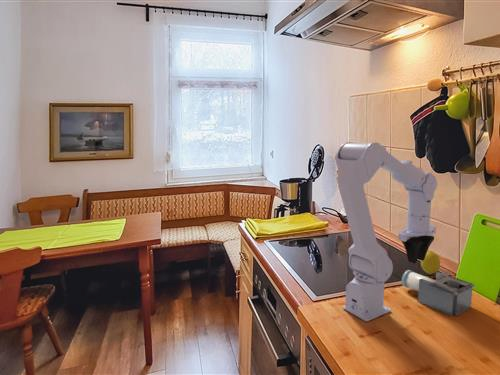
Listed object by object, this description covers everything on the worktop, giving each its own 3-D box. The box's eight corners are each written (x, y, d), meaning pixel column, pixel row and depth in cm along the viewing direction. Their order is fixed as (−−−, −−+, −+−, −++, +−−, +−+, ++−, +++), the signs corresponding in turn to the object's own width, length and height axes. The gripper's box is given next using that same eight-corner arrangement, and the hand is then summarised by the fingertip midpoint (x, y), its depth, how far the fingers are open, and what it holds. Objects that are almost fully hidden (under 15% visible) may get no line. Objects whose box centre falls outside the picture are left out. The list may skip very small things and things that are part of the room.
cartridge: (445, 297, 91) (446, 280, 90) (434, 302, 89) (436, 284, 88) (411, 284, 100) (412, 268, 99) (401, 288, 97) (402, 272, 96)
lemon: (442, 278, 104) (443, 254, 103) (423, 277, 106) (424, 253, 104) (436, 271, 110) (437, 248, 109) (418, 270, 111) (419, 247, 110)
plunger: (461, 290, 86) (461, 283, 86) (455, 292, 85) (455, 285, 84) (450, 286, 88) (450, 279, 88) (444, 288, 87) (444, 281, 87)
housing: (472, 307, 87) (474, 284, 86) (453, 317, 83) (455, 293, 82) (436, 293, 95) (438, 271, 94) (417, 301, 91) (419, 279, 90)
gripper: (416, 221, 86) (413, 271, 88) (447, 213, 93) (444, 259, 95) (392, 216, 92) (390, 262, 94) (423, 209, 99) (421, 252, 101)
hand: (416, 260), depth 95 cm, fingers open, 3 cm apart
